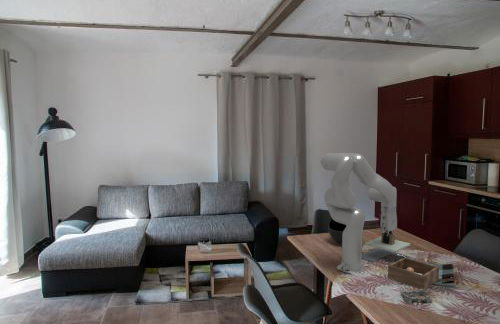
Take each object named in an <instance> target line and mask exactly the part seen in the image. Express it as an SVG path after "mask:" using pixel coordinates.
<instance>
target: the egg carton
mask: <svg viewBox="0 0 500 324" xmlns="http://www.w3.org/2000/svg"><path fill="white" fill-rule="evenodd" d="M400 295H401V297H403V299H404V300H403V302H404V303H405V304H408V305H412V304H413V302H417V306H419V305H420V306H421V304H419V303H421V302H425V303H426V304H427V303H428V304H430V302H432V301H433V298H432V297H431V295H429V293H428V291H427V290H426V289H418V288H417V290H416V289H413V290H400ZM421 295H422V296H424V297H423V298H422V297H420V296H421ZM419 297H420V298H419Z"/></svg>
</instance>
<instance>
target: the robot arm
mask: <svg viewBox="0 0 500 324" xmlns="http://www.w3.org/2000/svg"><path fill="white" fill-rule="evenodd" d="M320 166H321V167H322V168H323V169H324V170H326V171H331V172H334V173H333V175H332V177H331V179H330V187H329V188H327V189H326V191H325V193H324V196H323V199H324V203H325V206H326V208H327V211H328V212H329V213H328V214H329V215H330V217H331V219H333V220H334V221H336V222H338V223H341V224H345V225H346V228H345V230H344V231H343V235H342V244H341V252H342V253H341V263H339V264H338V265H337V266H336V268H337V269H338V270H339V271H341V272H344V273H346V274H351V275H352V274H353V273H362V272H364V271H365V266H364V265H363V264H362V261H363V259H362V255H363V231H364V230H363V229H364V225H365V220H366V214H365V212H364V211H363V210H362V209H360V208H358V207H355V206H356V198H355V195H354V192H353V189H352V187H351V185H350V184H351V183H350V182H349V177H350V174H351V172H353V174H354V175H355V177H356V178H357V179H358V181H359V182H360V183H361V184H363V185H365V186H367V187H369V188H370V189H368V192H367V196H368V198H369V199H370V200H372V201H374V202H379V203H380V207H381V208H380V211H381V213H380V233H381V234H382V233H383V242H384V243H389V234H393V235H394V231H395V230H396V229H397V228H398V217H397V196H398V195H397V191H398V190H397V188H396V187H395V186H393V185H392V183H390V182H389V181H388V180H387V179H386V178H384V177H383V176H381V175H380V174H378V173H377V172H375V171H374V169H373V168H372V167H371V165H370V164H369V162H368V161H367V159H366V157H364V156H363V154H360V153H355V152H353V153H351V152H339V153H338V152H337V153H336V152H334V153H333V152H328V153H325V154H323V155H322V156H321V158H320Z"/></svg>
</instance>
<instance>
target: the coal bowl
mask: <svg viewBox="0 0 500 324" xmlns="http://www.w3.org/2000/svg"><path fill="white" fill-rule="evenodd" d="M345 228H346V225H345V224H341V223H338V222H336V221H334V220H333V219H332V218H331V219H330V222H329V223H328V226H327V229H328V231H327V232H328V234H329V236H330V237H331V239H333V241H335V242H336V243H338V244H341V245H342V235H343V231H344V230H345Z"/></svg>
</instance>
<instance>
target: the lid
mask: <svg viewBox="0 0 500 324" xmlns="http://www.w3.org/2000/svg"><path fill="white" fill-rule="evenodd" d="M380 235H381V236H379V237H376V238H374V239H371V240H369V241H366V242H365V243H364V244H365V245H366V246H370V247H373V248H375V249H377V248H380V249H384V250H387V251H391V252H395V253H398V252H400V251H402V250H404V249H406V248H408V247H410V246H411V245H412V244H411V243H410V242H406V241H401V240H398V239H395V236H396V235H395V234H394V233H393V234H389V243H384V242H383V233H381V234H380Z"/></svg>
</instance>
